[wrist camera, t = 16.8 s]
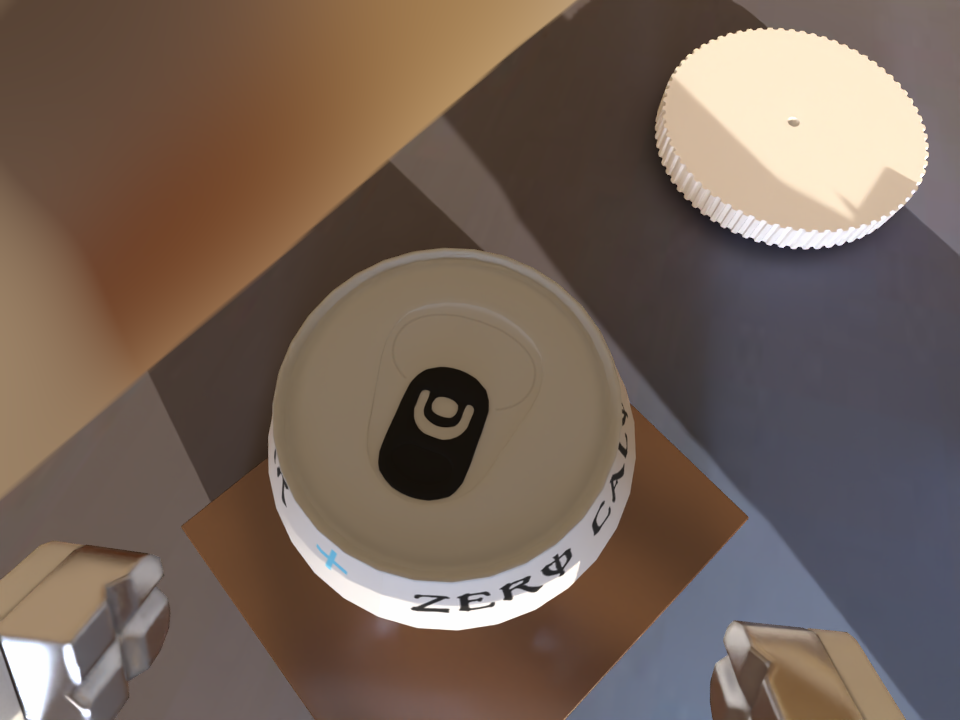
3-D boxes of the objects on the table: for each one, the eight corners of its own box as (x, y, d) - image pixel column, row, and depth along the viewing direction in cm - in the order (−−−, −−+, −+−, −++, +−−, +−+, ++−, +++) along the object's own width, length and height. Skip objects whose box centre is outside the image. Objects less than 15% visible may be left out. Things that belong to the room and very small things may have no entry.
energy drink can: (566, 475, 23) (708, 283, 9) (516, 637, 21) (598, 720, 7) (421, 422, 24) (342, 169, 10) (358, 574, 21) (139, 532, 7)
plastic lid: (600, 132, 35) (609, 99, 32) (768, 32, 38) (787, -6, 35) (776, 306, 31) (801, 282, 28) (948, 177, 34) (984, 145, 31)
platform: (493, 318, 30) (496, 274, 26) (706, 529, 26) (749, 517, 22) (227, 537, 26) (179, 526, 22) (432, 823, 22) (423, 875, 18)
